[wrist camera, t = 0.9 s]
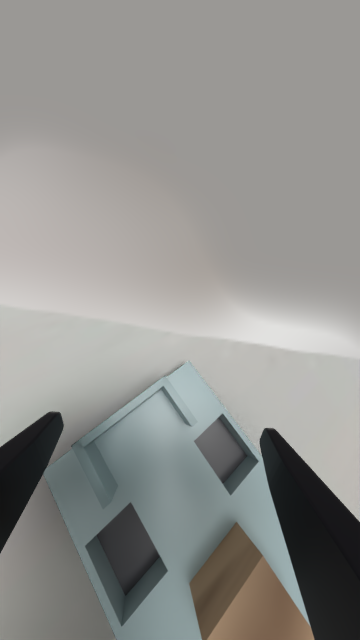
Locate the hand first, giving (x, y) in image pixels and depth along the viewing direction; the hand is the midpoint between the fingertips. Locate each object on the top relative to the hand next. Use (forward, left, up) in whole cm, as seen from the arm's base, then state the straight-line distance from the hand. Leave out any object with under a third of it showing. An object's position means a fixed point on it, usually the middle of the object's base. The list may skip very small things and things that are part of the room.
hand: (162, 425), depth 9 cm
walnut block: (-13, +2, -10) cm, 17 cm away
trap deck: (-9, +2, -13) cm, 16 cm away
